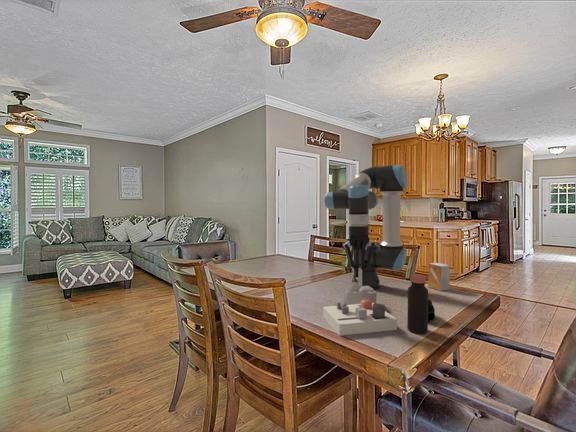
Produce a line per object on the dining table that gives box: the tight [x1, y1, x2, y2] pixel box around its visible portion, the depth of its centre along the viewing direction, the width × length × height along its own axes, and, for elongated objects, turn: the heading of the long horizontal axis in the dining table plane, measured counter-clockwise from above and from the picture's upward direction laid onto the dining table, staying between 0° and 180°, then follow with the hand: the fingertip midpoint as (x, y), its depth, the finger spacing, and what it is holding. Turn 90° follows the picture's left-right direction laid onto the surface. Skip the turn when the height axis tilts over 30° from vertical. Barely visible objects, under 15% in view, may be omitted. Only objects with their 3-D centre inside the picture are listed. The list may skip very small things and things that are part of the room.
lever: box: [340, 279, 358, 308], centre depth 119 cm, size 2×3×13 cm
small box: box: [427, 262, 451, 292], centre depth 161 cm, size 8×6×13 cm
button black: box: [373, 303, 386, 319], centre depth 113 cm, size 4×4×6 cm
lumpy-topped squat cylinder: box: [345, 285, 378, 305], centre depth 136 cm, size 10×13×9 cm
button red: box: [361, 299, 372, 309], centre depth 123 cm, size 4×4×6 cm
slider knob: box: [356, 307, 367, 319], centre depth 111 cm, size 3×3×3 cm
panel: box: [322, 301, 398, 336], centre depth 117 cm, size 22×18×6 cm
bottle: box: [406, 273, 429, 335], centre depth 109 cm, size 7×7×20 cm
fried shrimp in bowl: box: [428, 298, 436, 322], centre depth 124 cm, size 9×11×18 cm
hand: (359, 285), depth 119 cm, fingers closed
